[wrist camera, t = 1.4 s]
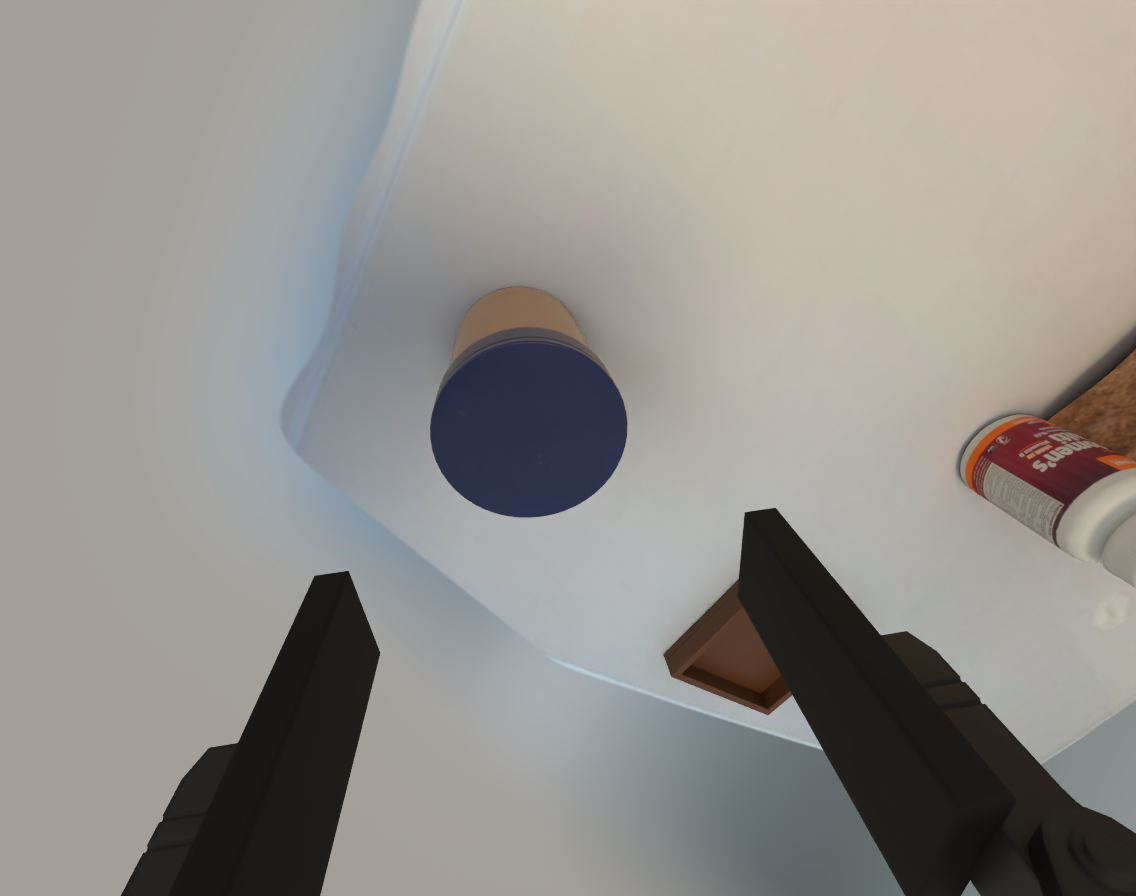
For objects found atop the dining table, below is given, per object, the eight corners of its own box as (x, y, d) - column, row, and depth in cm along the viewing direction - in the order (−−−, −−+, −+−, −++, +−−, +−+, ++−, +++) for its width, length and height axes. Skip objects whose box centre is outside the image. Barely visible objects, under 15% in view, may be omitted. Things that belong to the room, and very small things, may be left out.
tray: (663, 654, 42) (671, 677, 40) (757, 560, 38) (771, 579, 36) (757, 694, 46) (768, 715, 44) (851, 611, 42) (867, 631, 40)
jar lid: (453, 504, 23) (450, 530, 21) (414, 339, 19) (406, 356, 17) (621, 480, 23) (630, 504, 21) (613, 315, 20) (623, 328, 18)
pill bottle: (1043, 397, 35) (1265, 487, 25) (1038, 469, 37) (1234, 575, 28) (954, 433, 35) (1137, 535, 25) (955, 501, 38) (1119, 617, 28)
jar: (468, 416, 30) (456, 517, 21) (443, 294, 27) (417, 355, 18) (586, 400, 31) (622, 493, 22) (576, 279, 27) (615, 330, 18)
